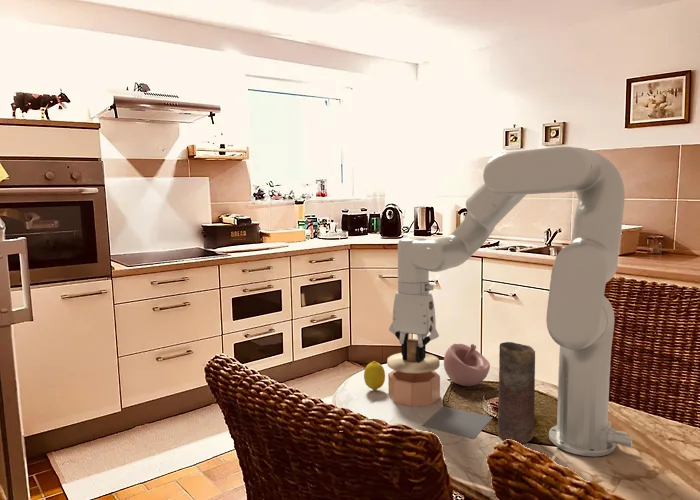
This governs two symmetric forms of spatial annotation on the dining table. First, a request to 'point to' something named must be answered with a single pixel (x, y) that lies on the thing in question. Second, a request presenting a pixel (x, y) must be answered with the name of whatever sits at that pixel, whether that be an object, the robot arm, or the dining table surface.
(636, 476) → the dining table surface
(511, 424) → the stone cylinder
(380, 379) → the lemon
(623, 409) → the dining table surface
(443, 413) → the mat
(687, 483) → the dining table surface
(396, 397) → the bowl
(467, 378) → the mortar and pestle
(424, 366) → the lid
